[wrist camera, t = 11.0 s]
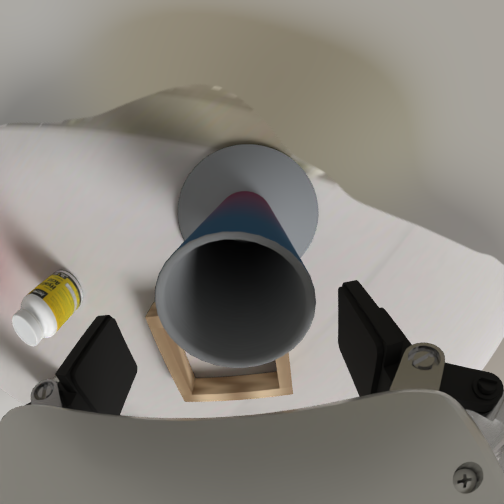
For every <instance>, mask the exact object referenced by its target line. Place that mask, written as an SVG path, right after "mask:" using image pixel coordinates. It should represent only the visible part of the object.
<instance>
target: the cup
mask: <svg viewBox="0 0 504 504" xmlns="http://www.w3.org/2000/svg"><path fill="white" fill-rule="evenodd" d="M155 304H156V309H157V314H158V316H159V319H160V321H161V323H162V326H163V327H164V329H165V330H166V332H167V333H168V335H169V336H170V338H171V339H172V340H173V341H174V342H175V343H176V344H177V345H178V346H179V347H181V348H182V349H183V350H185V351H186V352H187V353H189V354H190V355H192V356H194V357H196V358H198V359H200V360H202V361H205V362H208V363H211V364H214V365H218V366H224V367H231V368H245V367H253V366H259V365H262V364H266V363H269V362H272V361H274V360H276V359H278V358H280V357H282V356H284V355H285V354H286V353H288V352H289V351H291V350H292V349H293V348H294V347H295V346H296V345H297V344H298V343H299V342H300V341H301V340H302V339H303V338H304V336H305V335H306V333H307V331H308V330H309V328H310V326H311V323H312V320H313V318H314V313H315V306H316V299H315V289H314V286H313V283H312V280H311V277H310V275H309V273H308V271H307V270H306V268H305V266H304V264H303V262H302V261H301V259H300V257H299V255H298V254H297V252H296V250H295V248H294V247H293V245H292V243H291V241H290V240H289V238H288V236H287V235H286V233H285V231H284V229H283V228H282V226H281V224H280V223H279V221H278V219H277V218H276V216H275V214H274V212H273V211H272V209H271V207H270V206H269V204H268V203H267V201H266V200H265V199H264V198H263V197H261V196H260V195H258V194H256V193H254V192H249V191H240V192H236V193H233V194H231V195H230V196H228V197H227V198H226V199H225V200H224V201H223V202H222V203H221V204H220V205H219V206H218V207H217V208H216V209H215V210H214V211H213V212H212V213H211V214H210V215H209V216H208V217H207V218H206V219H205V220H204V221H203V222H202V223H201V224H200V225H199V226H198V227H197V229H196V230H195V231H194V232H193V233H192V234H191V235H190V236H189V237H188V238H187V239H186V240H185V241H184V242H183V243H182V244H181V246H180V247H179V248H178V249H177V250H176V251H175V252H174V253H173V254H172V255H171V256H170V258H169V259H168V260H167V261H166V262H165V264H164V266H163V268H162V269H161V271H160V273H159V276H158V279H157V283H156V287H155Z"/></svg>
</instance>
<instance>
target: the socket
mask: <svg viewBox="0 0 504 504" xmlns="http://www.w3.org/2000/svg"><path fill="white" fill-rule="evenodd" d="M145 318H146V320H147V323H148V325H149V327H150V330H151V332H152V335H153V337H154V339H155V341H156V344H157V346H158V348H159V350H160V353H161V355H162V357H163V359H164V361H165V363H166V365H167V368H168V370H169V372H170V374H171V376H172V378H173V380H174V382H175V384H176V386H177V388H178V390H179V392H180V393H181V395H182V397H183V399H184V401H185V402H203V401H228V400H243V399H255V398H265V397H274V396H282V395H290V394H293V390H292V380H291V371H290V362H289V353H286V354H285V355H284V356H282V357H280V358H278V359H276V360H275V361H276V367H277V372H270V373H261V374H252V375H241V376H229V377H214V378H195V376H194V373H193V371H192V369H191V366H190V364H189V361H188V359H187V357H186V354H185V352H184V350H183V349H182V348H181V347H179V346H178V345H177V344H176V343H175V342H174V341H173V340H172V339H171V338H170V336H169V335H168V333H167V332H166V330H165V329H164V327H163V326H162V323H161V321H160V319H159V316H158V314H157V309H156V304H155V302H154V303H153V304H152V306H151V308H150V310H149V311H148V313H147V315H146V317H145Z"/></svg>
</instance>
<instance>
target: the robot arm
mask: <svg viewBox="0 0 504 504" xmlns="http://www.w3.org/2000/svg"><path fill="white" fill-rule="evenodd" d="M338 344H339V348H340V351H341V353H342V356H343V358H344V360H345V363H346V365H347V367H348V370H349V372H350V374H351V377H352V379H353V382H354V384H355V386H356V389H357V391H358V394H359V396H360V397H356V398H351V399H346V400H342V401H337V402H332V403H327V404H322V405H317V406H311V407H306V408H299V409H293V410H287V411H280V412H273V413H265V414H256V415H245V416H233V417H216V418H149V417H133V416H121V415H120V413H121V410H122V408H123V405H124V403H125V400H126V398H127V395H128V393H129V390H130V388H131V385H132V383H133V380H134V378H135V376H136V373H137V365H136V363H135V361H134V359H133V357H132V355H131V353H130V351H129V349H128V346H127V344H126V342H125V340H124V338H123V336H122V334H121V331H120V329H119V327H118V325H117V322H116V320H115V319H114V318H112V317H111V316H110V315H104V316H97V317H96V319H95V320H94V321H93V322H92V324H91V325H90V326H89V328H88V329H87V330H86V332H85V333H84V334H83V336H82V337H81V338H80V340H79V341H78V342H77V344H76V345H75V347H74V348H73V349H72V351H71V352H70V354H69V355H68V356H67V358H66V359H65V361H64V362H63V364H62V365H61V366H60V368H59V369H58V371H57V372H56V374H55V375H56V377H55V378H54V380H53V379H46V380H43V381H41V382H39V383H38V384H37V385H36V386H35V387H34V388H33V390H32V392H31V402H30V403H28V404H26V405H25V406H19V407H16V408H14V409H11V410H10V411H9V412H8V413H7V414H6V415H5V416H3V418H2V420H1V421H0V504H504V389H503V384H502V381H501V380H500V379H499V378H498V377H497V376H496V375H494V374H492V373H489V372H485V371H480V370H476V369H471V368H466V367H462V366H457V365H453V364H449V363H445V355H444V353H443V351H442V350H441V349H440V348H439V347H437V346H435V345H433V344H430V343H416V344H413V345H412V344H411V343H410V342H409V340H408V339H407V338H406V336H405V335H404V334H403V332H402V331H401V330H400V328H399V327H398V326H397V325H396V323H395V322H394V321H393V319H392V318H391V317H390V315H389V314H388V313H387V312H386V310H385V309H384V308H379V307H378V306H377V304H376V303H375V302H374V301H373V299H372V298H371V297H370V295H369V294H368V293H367V292H366V290H365V289H364V288H363V287H362V285H361V284H360V283H359V282H358V281H357V280H355V281H350V282H345V283H343V285H342V287H339V289H338Z"/></svg>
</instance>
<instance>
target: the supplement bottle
mask: <svg viewBox="0 0 504 504" xmlns="http://www.w3.org/2000/svg"><path fill="white" fill-rule="evenodd" d="M82 300H83V293H82V289H81V287H80V285H79V283H78V281H77V280H76V279H75V277H74V276H73V275H71V274H70V273H68V272H66V271H62V270H61V271H56V272H55V273H53V274H52V275H51V276H49V277H48V278H47V279H46V280H44V281H43V282H42V283H41V284H39V285H38V286H37V287H36V288H35V289H33V290H32V291H31V292H30V293H29V294H27V295H26V296H25V297H24V298H23V300H22V303H21V309H20V310H18V311H17V312H16V313H15V314H14V315H13V317H12V324H13V327H14V330H15V331H16V333H17V335H18V336H19V337H20V338H21V339H22V340H23V341H24V342H25V343H26V344H28V345H30V346H36V345H37V344H38V343H39V342H40V341H41V339H42V338H43V337H44V338H49V337H52V336H53V335H54V334H55V333H56V332H57V331H58V330H59V328H60V327H61V326H62V325H63V324H64V323H65V322H66V321H67V319H68V318H69V317H70V316H71V315H72V314H73V313H74V312H75V311H76V309H77V308H78V307H79V306H80V305H81V303H82Z"/></svg>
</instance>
